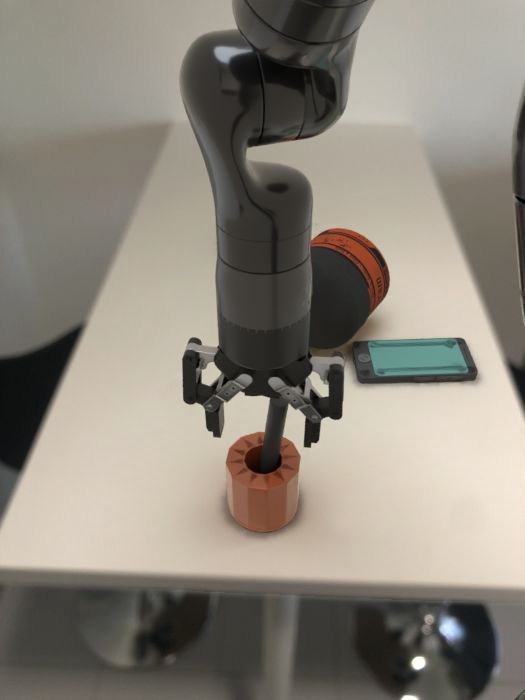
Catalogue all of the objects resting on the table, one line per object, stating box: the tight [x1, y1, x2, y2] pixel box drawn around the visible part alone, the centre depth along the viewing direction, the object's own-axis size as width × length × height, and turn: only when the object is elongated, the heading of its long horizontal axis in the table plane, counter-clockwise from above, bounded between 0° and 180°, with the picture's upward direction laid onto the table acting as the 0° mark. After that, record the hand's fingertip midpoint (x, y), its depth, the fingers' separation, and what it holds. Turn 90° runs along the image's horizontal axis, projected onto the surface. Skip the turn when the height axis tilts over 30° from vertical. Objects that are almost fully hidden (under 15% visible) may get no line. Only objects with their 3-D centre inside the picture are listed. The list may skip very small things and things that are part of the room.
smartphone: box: [351, 337, 479, 384], centre depth 87 cm, size 7×1×15 cm
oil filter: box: [308, 227, 391, 350], centre depth 88 cm, size 13×12×13 cm
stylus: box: [258, 396, 290, 474], centre depth 67 cm, size 2×2×14 cm
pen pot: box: [225, 431, 302, 533], centre depth 69 cm, size 7×7×7 cm
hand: (263, 436), depth 64 cm, fingers open, 8 cm apart
